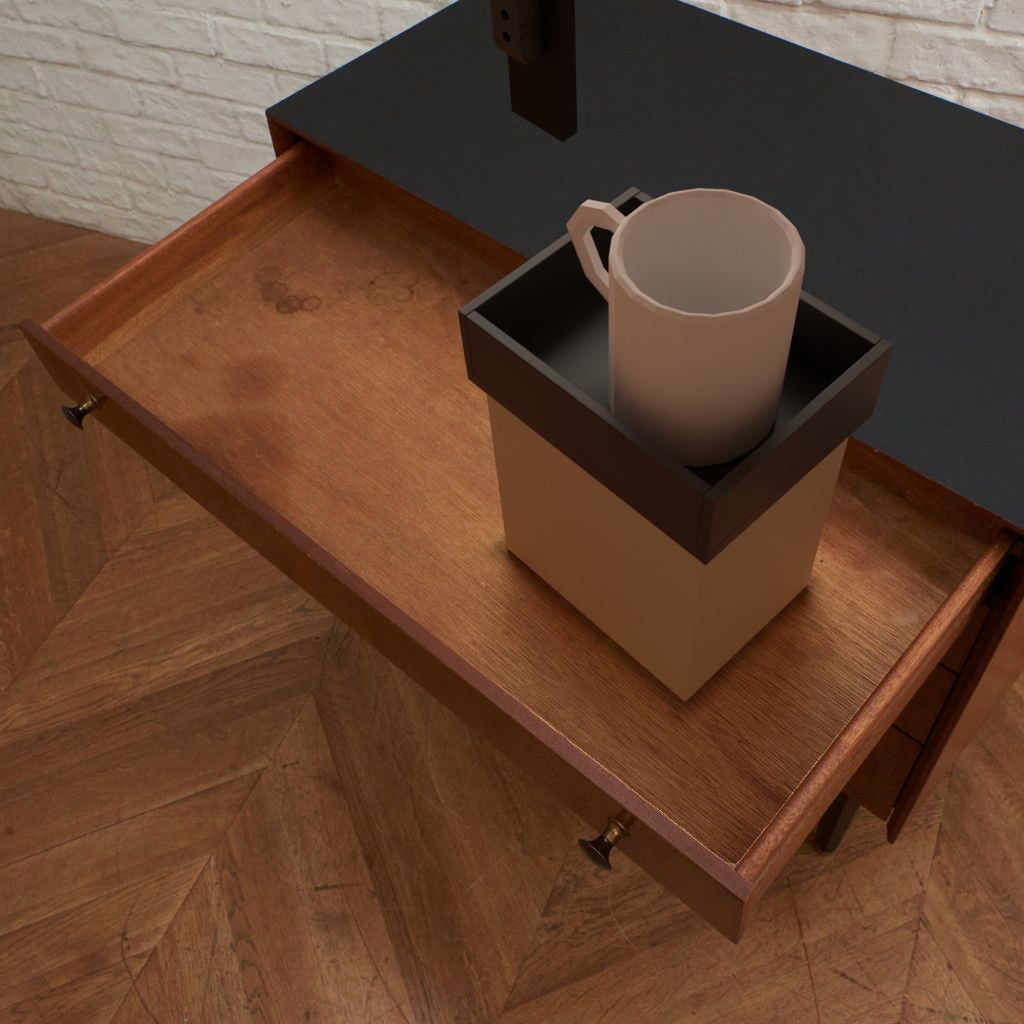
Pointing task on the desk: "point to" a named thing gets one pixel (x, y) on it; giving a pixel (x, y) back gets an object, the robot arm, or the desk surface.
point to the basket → (621, 449)
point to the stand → (654, 558)
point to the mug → (696, 317)
